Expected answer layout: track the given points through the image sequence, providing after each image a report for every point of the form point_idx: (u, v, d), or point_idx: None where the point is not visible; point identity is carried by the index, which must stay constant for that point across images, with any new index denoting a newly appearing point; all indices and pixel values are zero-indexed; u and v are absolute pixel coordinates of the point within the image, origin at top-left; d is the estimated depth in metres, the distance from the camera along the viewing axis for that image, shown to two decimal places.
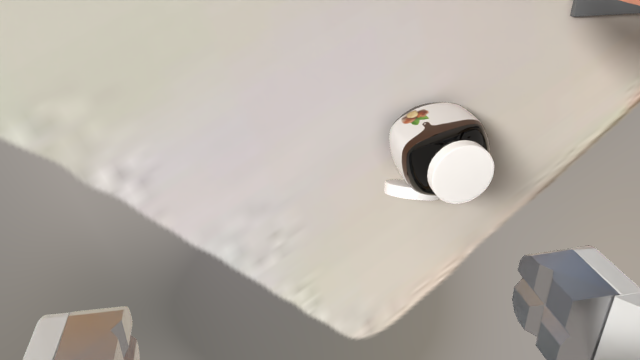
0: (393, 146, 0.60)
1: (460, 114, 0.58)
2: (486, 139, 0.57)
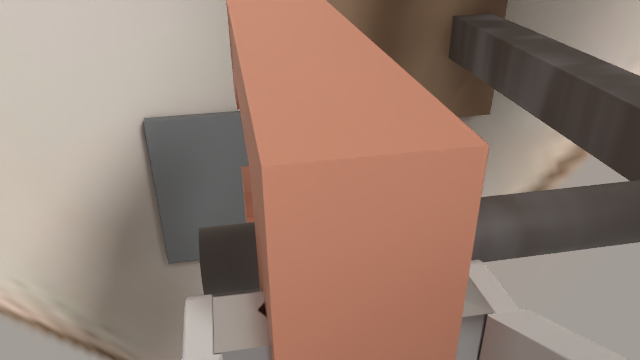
0: None
1: None
2: None
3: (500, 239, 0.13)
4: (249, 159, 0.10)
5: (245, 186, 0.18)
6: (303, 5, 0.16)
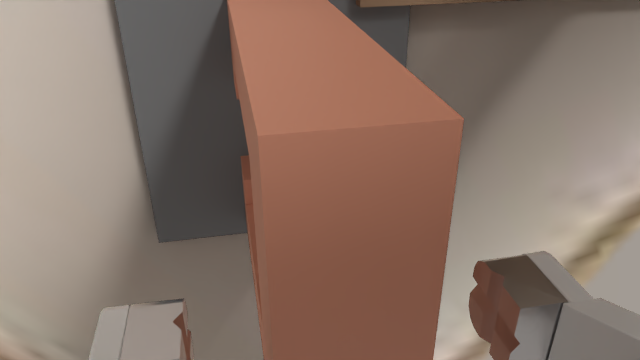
0: None
1: None
2: None
3: None
4: (247, 139, 0.11)
5: (244, 174, 0.19)
6: None
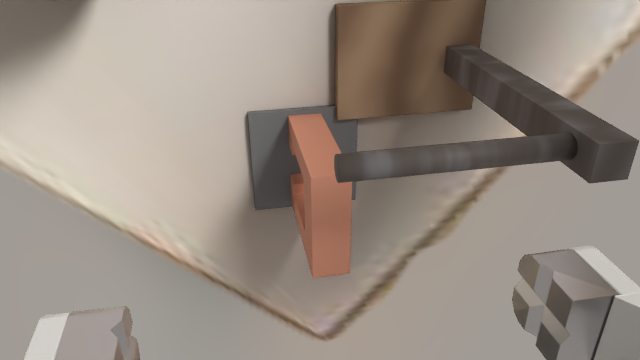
0: None
1: None
2: None
3: (461, 159, 0.30)
4: (303, 174, 0.41)
5: (293, 182, 0.50)
6: (315, 121, 0.47)
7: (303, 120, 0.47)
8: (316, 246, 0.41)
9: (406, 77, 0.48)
